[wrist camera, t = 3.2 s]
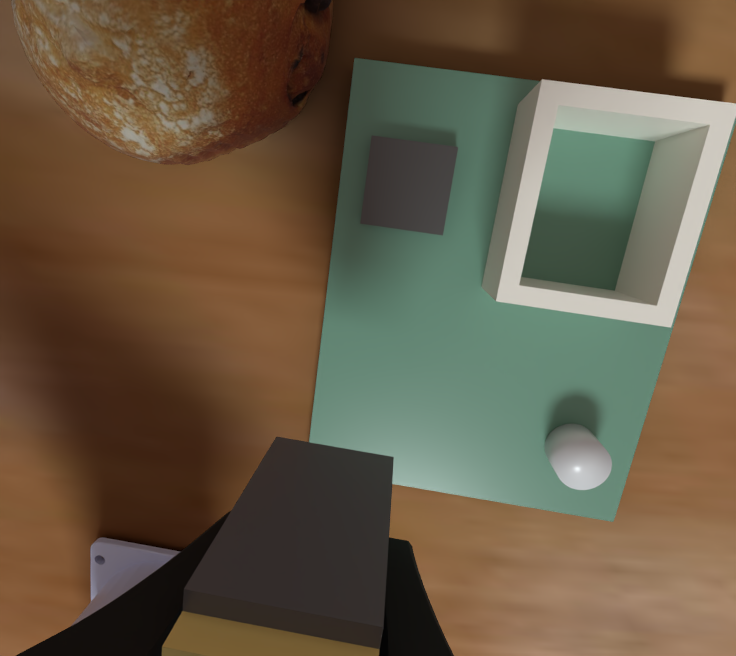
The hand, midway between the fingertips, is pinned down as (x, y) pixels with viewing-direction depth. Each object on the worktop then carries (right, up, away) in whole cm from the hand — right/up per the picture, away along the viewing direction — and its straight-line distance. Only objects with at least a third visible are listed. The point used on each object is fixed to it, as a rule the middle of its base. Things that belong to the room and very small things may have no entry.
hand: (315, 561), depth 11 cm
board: (+6, +6, +8) cm, 12 cm away
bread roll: (-5, +17, +7) cm, 19 cm away
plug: (0, +1, +1) cm, 1 cm away
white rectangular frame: (+9, +10, +6) cm, 14 cm away
